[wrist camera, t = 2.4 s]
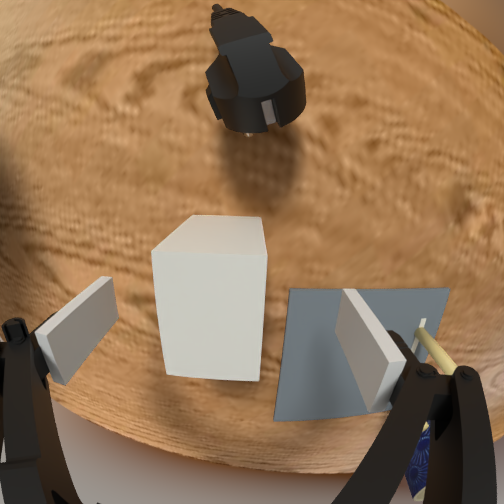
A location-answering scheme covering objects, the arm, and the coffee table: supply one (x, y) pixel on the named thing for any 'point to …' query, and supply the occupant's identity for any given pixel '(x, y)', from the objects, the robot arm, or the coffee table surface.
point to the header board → (332, 355)
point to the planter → (419, 466)
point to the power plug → (251, 76)
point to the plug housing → (212, 297)
